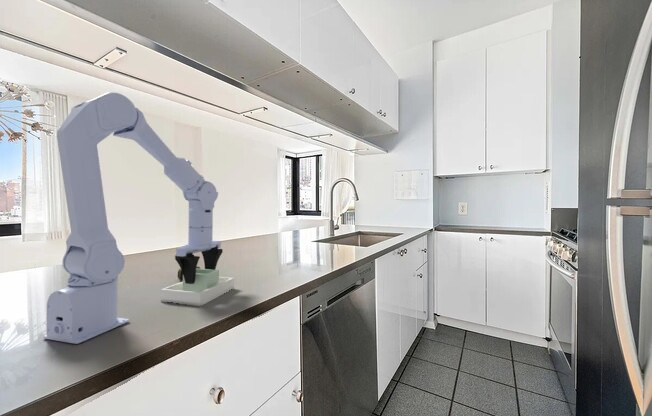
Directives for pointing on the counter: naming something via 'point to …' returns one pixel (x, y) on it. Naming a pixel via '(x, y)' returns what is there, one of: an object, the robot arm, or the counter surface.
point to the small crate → (202, 280)
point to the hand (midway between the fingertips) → (200, 279)
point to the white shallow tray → (196, 293)
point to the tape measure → (180, 275)
